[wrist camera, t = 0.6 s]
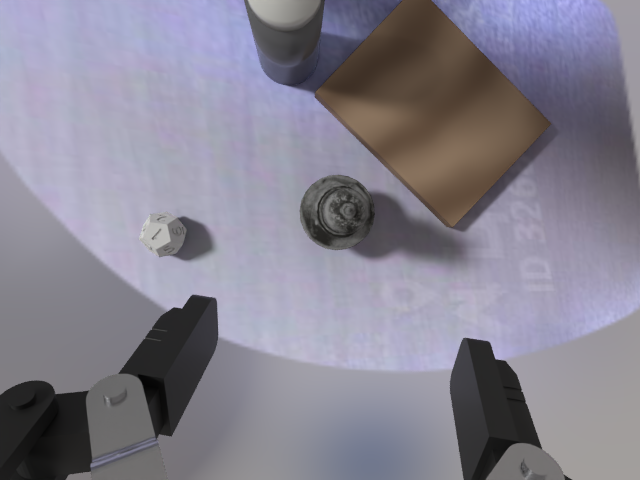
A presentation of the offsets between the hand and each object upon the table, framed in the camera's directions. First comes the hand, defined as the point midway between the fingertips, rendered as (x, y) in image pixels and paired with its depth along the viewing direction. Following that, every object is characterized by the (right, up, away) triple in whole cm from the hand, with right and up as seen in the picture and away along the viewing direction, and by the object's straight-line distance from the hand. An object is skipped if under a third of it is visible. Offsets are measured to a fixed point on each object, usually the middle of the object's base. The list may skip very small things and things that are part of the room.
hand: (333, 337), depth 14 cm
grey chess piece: (+1, +6, +24) cm, 24 cm away
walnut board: (+9, +14, +23) cm, 29 cm away
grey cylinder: (-3, +19, +23) cm, 29 cm away
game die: (-13, +4, +23) cm, 27 cm away
